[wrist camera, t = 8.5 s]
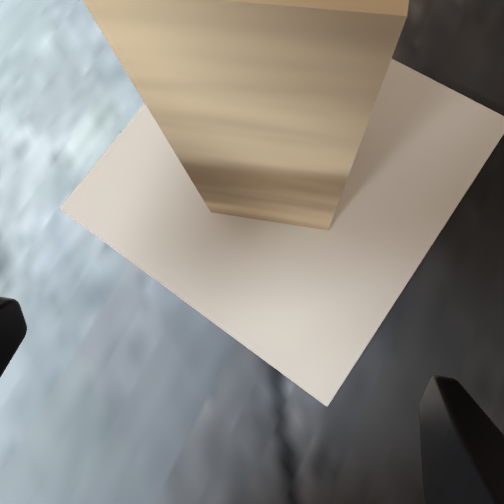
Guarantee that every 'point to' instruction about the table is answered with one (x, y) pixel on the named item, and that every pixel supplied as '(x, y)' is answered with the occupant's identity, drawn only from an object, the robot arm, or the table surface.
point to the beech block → (259, 93)
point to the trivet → (298, 229)
